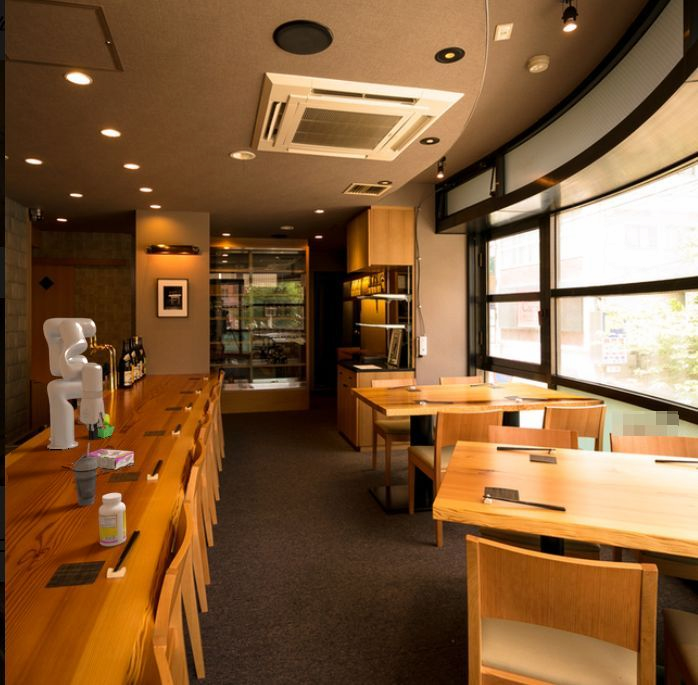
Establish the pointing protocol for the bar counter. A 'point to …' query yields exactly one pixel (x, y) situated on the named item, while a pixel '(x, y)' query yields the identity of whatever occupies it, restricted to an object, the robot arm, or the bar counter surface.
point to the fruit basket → (105, 428)
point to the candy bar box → (112, 458)
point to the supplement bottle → (112, 520)
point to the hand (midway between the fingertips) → (93, 439)
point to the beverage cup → (85, 479)
